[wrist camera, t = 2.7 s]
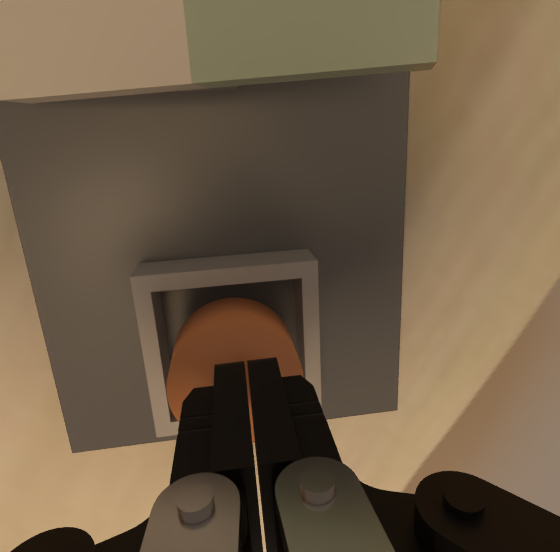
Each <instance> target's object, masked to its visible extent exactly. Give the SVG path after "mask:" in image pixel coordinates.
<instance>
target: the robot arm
mask: <svg viewBox="0 0 560 552" xmlns="http://www.w3.org/2000/svg"><path fill="white" fill-rule="evenodd" d="M247 366H248V376H249V387H250V397H251V408H252V418H253V428H254V438H255V448H256V457H257V466H258V476H259V485H260V494H261V504H262V513H263V523H264V532H265V541H266V551H267V552H560V517H559V516H557V515H555V514H553V513H551V512H549V511H547V510H545V509H543V508H541V507H539V506H537V505H535V504H532V503H530V502H528V501H526V500H524V499H522V498H520V497H518V496H516V495H514V494H512V493H510V492H508V491H505V490H504V489H501V488H499V487H497V486H495V485H493V484H491V483H489V482H487V481H485V480H483V479H481V478H478V477H476V476H474V475H470V474H467V473H462V472H457V471H442V472H437V473H434V474H431V475H429V476H427V477H425V478H424V479H423V480H422V481H421V482H420V483H419V485H418V486H417V489H416V492H415V494H409V493H401V492H392V491H386V490H380V489H377V488H373V487H371V486H368V485H366V484H364V483H362V482H361V481H359V479H358V478H357V476H356V475H355V473H354V472H353V471H352V470H351V469H350V468H349V467H348V466H346V465H345V464H343V463H342V461H341V458H340V455H339V453H338V450H337V447H336V445H335V442H334V439H333V437H332V434H331V431H330V429H329V426H328V423H327V421H326V418H325V415H324V414H323V410H322V407H321V404H320V402H319V399H318V396H317V394H316V391H315V388H314V386H313V385H312V384H311V383H310V382H309V381H307V380H306V379H305V378H304V377H303V376H301V375H295V376H287V377H281V373H280V369H279V365H278V361H277V358H276V357H273V358H264V359H256V360H247ZM11 552H263V547H262V536H261V526H260V516H259V506H258V495H257V485H256V475H255V465H254V454H253V444H252V434H251V424H250V414H249V403H248V393H247V383H246V373H245V363H244V361H240V362H231V363H223V364H215V365H214V386H206V387H198V388H193V389H192V391H191V392H190V393H189V395H188V396H187V397H186V398H185V400H184V401H183V402H182V409H181V415H180V421H179V428H178V434H177V441H176V447H175V453H174V460H173V466H172V473H171V479H170V485H169V486H168V487H167V488H166V489H165V490H164V491H162V493H161V494H160V495H159V496H158V498H157V499H156V501H155V503H154V505H153V507H152V510H151V514H150V517H149V518H148V519H146V520H145V521H144V522H142V523H141V524H139V525H138V526H136V527H134V528H132V529H130V530H128V531H126V532H124V533H122V534H119V535H117V536H115V537H112V538H110V539H108V540H105V541H103V542H101V543H98V544H96V545H95V544H94V541H93V539H92V537H91V536H90V535H89V534H88V533H87V532H85V531H83V530H81V529H78V528H74V527H62V528H56V529H52V530H48V531H45V532H43V533H40V534H38V535H36V536H34V537H32V538H30V539H28V540H26V541H25V542H23V543H22V544H20V545H19V546H17V547H16V548H15V549H13V550H12V551H11Z"/></svg>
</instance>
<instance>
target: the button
mask: <svg viewBox="0 0 560 552" xmlns="http://www.w3.org/2000/svg"><path fill="white" fill-rule="evenodd" d="M273 357H276V358H277V361H278V365H279V369H280V373H281V377H287V376H295V375H301V376H303V370H302V366H301V363H300V361H299V358H298V355H297V352H296V350H295V347H294V344H293V342H292V339H291V336H290V334H289V331H288V329H287V327H286V325H285V323H284V322H283V320H282V319H281V318H280V317H279V315H278V314H277V313H275V312H274V311H273V310H272V309H270V308H269V307H268V306H266V305H264V304H262V303H260V302H257V301H254V300H251V299H246V298H224V299H219V300H216V301H213V302H210V303H208V304H206V305H204V306H202V307H201V308H199V309H198V310H196V311H195V312H194V313H192V314H191V315H190V316H189V317H188V318H187V320H186V321H185V322H184V324H183V325H182V327H181V329H180V330H179V332H178V335H177V338H176V342H175V346H174V350H173V355H172V360H171V364H170V369H169V373H168V378H167V386H166V390H167V399H168V403H169V406H170V408H171V411H172V413H173V414H174V416H175V418H176V419H177V420H178V422H179V421H180V415H181V409H182V402H183V401H184V400H185V398H186V397H187V396H188V395H189V393H190V392H191V391H192V389H193V388H198V387H206V386H214V365H215V364H223V363H231V362H240V361H244V363H245V373H246V383H247V393H248V403H249V414H250V424H251V434H252V442H255V438H254V428H253V418H252V408H251V397H250V387H249V376H248V366H247V360H256V359H264V358H273ZM303 377H304V376H303Z"/></svg>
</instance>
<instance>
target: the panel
mask: <svg viewBox="0 0 560 552" xmlns="http://www.w3.org/2000/svg"><path fill="white" fill-rule="evenodd" d="M409 81H410V71H407V72H395V73H383V74H371V75H360V76H348V77H336V78H324V79H312V80H301V81H289V82H277V83H265V84H254V85H242V86H230V87H218V88H207V89H195V90H183V91H171V92H160V93H148V94H136V95H124V96H113V97H101V98H89V99H77V100H66V101H54V102H42V103H30V104H29V103H18V102H8V101H0V158H1V162H2V166H3V170H4V174H5V178H6V182H7V186H8V190H9V195H10V199H11V203H12V207H13V211H14V215H15V219H16V223H17V228H18V232H19V236H20V240H21V244H22V248H23V252H24V256H25V260H26V265H27V269H28V273H29V277H30V281H31V285H32V289H33V293H34V297H35V302H36V306H37V310H38V314H39V318H40V322H41V326H42V330H43V335H44V339H45V343H46V347H47V351H48V355H49V359H50V363H51V367H52V372H53V376H54V380H55V384H56V388H57V392H58V396H59V400H60V404H61V409H62V413H63V417H64V421H65V425H66V429H67V433H68V437H69V442H70V446H71V450H72V453H77V452H84V451H92V450H99V449H107V448H115V447H122V446H130V445H137V444H145V443H152V442H160V441H167V440H175V439H177V434H178V428H179V422H178V420H177V419H176V418H175V416H174V414H173V413H172V411H171V408H170V406H169V403H168V399H167V390H166V386H167V378H168V373H169V369H170V364H171V360H172V355H173V350H174V346H175V342H176V338H177V335H178V332H179V330H180V329H181V327H182V325H183V324H184V322H185V321H186V320H187V318H188V317H189V316H190V315H191V314H192V313H194V312H195V311H196V310H198V309H199V308H201V307H202V306H204V305H206V304H208V303H210V302H213V301H216V300H219V299H224V298H246V299H251V300H254V301H257V302H260V303H262V304H264V305H266V306H268V307H269V308H270V309H272V310H273V311H274V312H275V313H277V314H278V315H279V317H280V318H281V319H282V320H283V322H284V323H285V325H286V327H287V329H288V331H289V334H290V336H291V339H292V342H293V344H294V347H295V350H296V352H297V355H298V358H299V361H300V363H301V366H302V370H303V376H304V378H305V379H306V380H307V381H309V382H310V383H311V384H312V385H313V386H314V388H315V391H316V394H317V396H318V399H319V402H320V404H321V407H322V410H323V414H324V415H325V418H326V419H334V418H341V417H349V416H356V415H364V414H372V413H379V412H387V411H394V410H397V404H398V377H399V350H400V323H401V296H402V269H403V242H404V216H405V189H406V162H407V135H408V108H409Z"/></svg>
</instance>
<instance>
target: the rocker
mask: <svg viewBox="0 0 560 552" xmlns="http://www.w3.org/2000/svg"><path fill="white" fill-rule="evenodd" d="M439 19H440V0H0V101H8V102H18V103H29V104H30V103H42V102H54V101H66V100H77V99H89V98H101V97H113V96H124V95H136V94H148V93H160V92H171V91H183V90H195V89H207V88H218V87H230V86H242V85H254V84H265V83H277V82H289V81H301V80H312V79H324V78H336V77H348V76H360V75H371V74H383V73H395V72H407V71H418V70H430V69H432V67H433V66H434V65H435V64H436V63H437V55H438V37H439Z"/></svg>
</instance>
